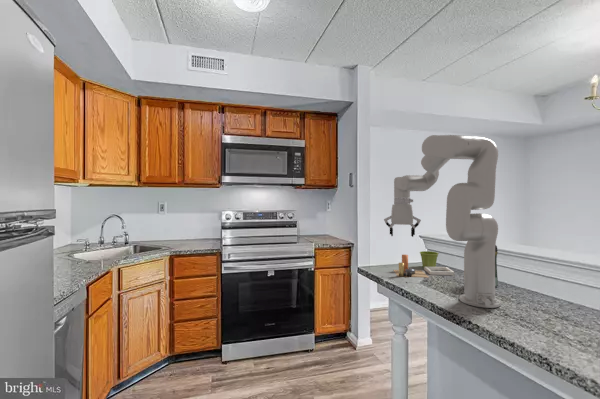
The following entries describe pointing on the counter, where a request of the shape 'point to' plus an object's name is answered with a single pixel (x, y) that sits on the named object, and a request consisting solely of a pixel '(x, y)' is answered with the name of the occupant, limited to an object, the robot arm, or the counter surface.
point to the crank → (404, 273)
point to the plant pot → (429, 258)
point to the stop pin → (405, 261)
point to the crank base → (409, 274)
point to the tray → (446, 272)
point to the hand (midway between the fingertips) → (402, 236)
